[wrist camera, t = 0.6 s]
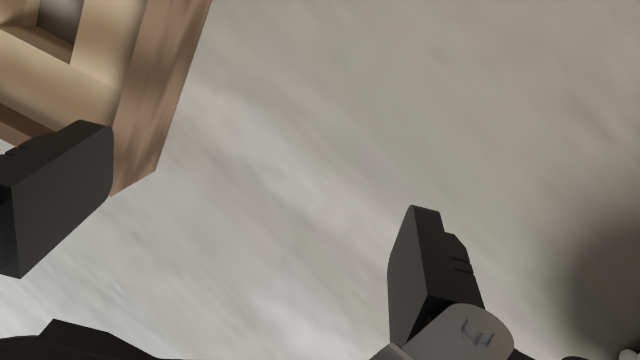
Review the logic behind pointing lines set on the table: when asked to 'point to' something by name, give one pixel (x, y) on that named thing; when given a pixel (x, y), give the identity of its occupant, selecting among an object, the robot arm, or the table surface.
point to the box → (100, 74)
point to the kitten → (629, 355)
